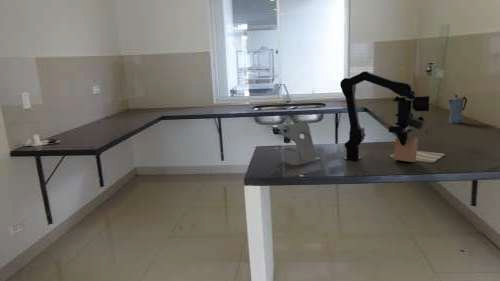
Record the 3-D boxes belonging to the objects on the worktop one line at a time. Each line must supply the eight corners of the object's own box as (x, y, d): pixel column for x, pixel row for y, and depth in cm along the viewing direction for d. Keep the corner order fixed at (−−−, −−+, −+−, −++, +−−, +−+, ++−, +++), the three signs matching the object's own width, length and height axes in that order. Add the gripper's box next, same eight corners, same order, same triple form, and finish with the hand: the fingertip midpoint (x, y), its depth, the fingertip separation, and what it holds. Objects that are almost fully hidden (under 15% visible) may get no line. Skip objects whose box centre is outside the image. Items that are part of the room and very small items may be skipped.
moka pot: (442, 122, 268) (443, 94, 264) (458, 120, 272) (460, 93, 268) (452, 124, 259) (454, 95, 255) (470, 122, 264) (472, 94, 259)
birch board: (432, 163, 168) (432, 162, 168) (389, 157, 182) (389, 156, 182) (444, 155, 181) (444, 154, 181) (403, 150, 194) (403, 149, 194)
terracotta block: (410, 161, 167) (414, 137, 167) (393, 159, 173) (396, 135, 173) (415, 162, 172) (418, 138, 172) (398, 159, 177) (401, 136, 177)
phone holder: (293, 165, 175) (292, 128, 171) (280, 161, 183) (279, 125, 180) (321, 159, 184) (321, 123, 180) (308, 155, 192) (307, 121, 188)
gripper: (414, 114, 154) (413, 151, 157) (430, 109, 167) (428, 143, 170) (388, 113, 161) (387, 148, 164) (405, 108, 175) (404, 141, 178)
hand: (403, 145), depth 169 cm, fingers closed
